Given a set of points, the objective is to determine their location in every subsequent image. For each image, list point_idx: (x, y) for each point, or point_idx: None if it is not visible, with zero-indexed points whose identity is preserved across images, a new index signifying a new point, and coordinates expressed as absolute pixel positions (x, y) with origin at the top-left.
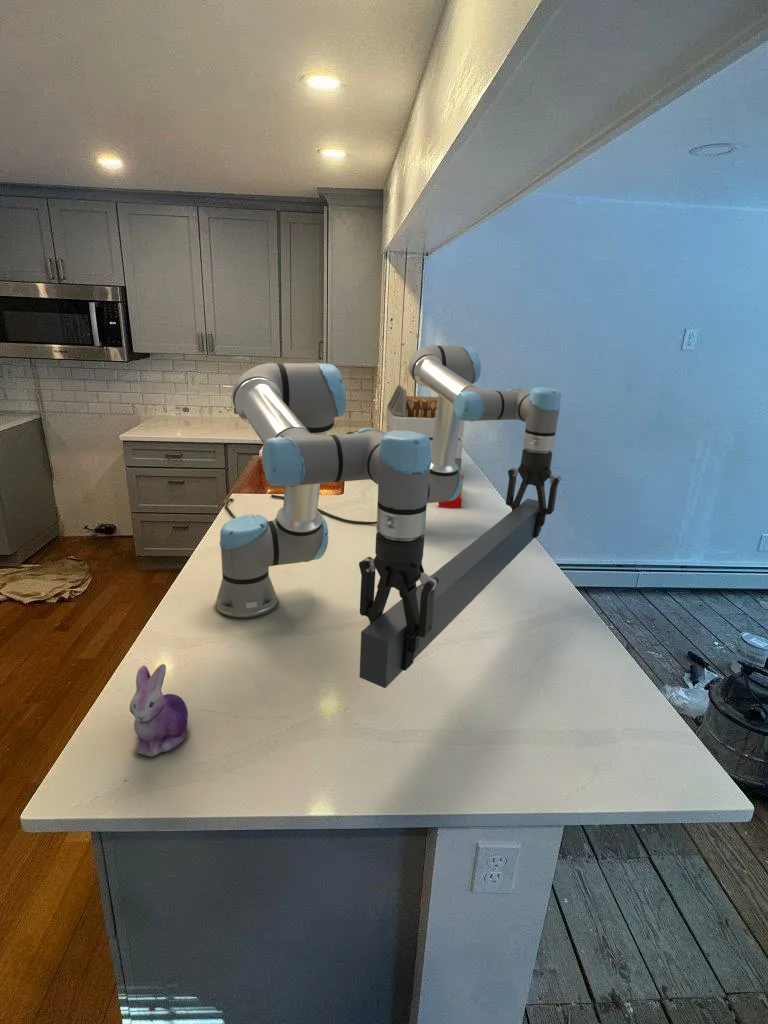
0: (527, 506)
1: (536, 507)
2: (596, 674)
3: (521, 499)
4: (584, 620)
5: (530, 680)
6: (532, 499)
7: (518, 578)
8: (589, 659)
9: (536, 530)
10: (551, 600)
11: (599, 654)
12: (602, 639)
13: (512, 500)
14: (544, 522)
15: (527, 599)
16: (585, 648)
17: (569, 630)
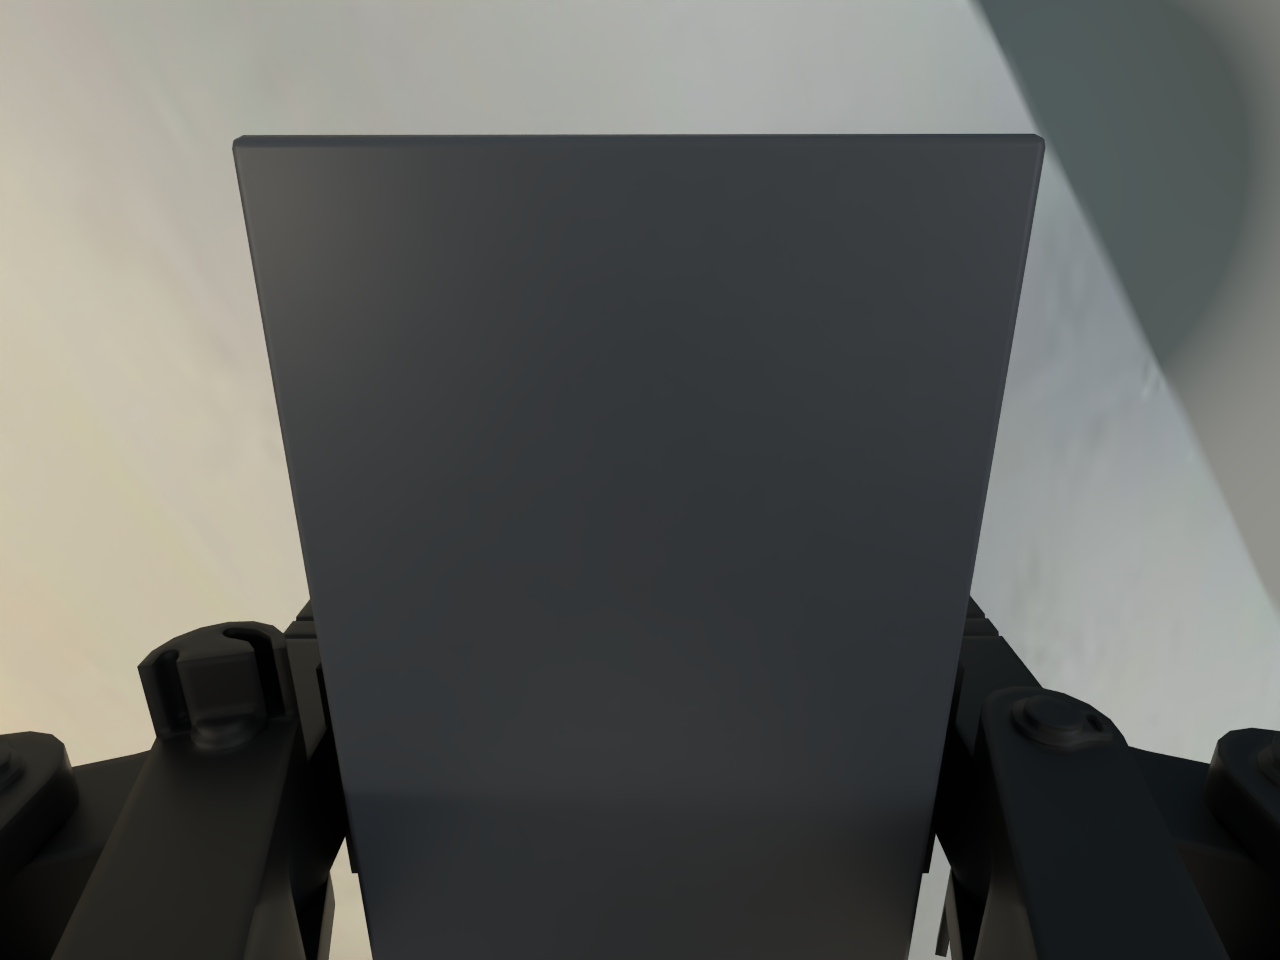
0: (601, 952)
1: (849, 887)
2: None
3: (265, 916)
4: (1098, 384)
5: (909, 956)
6: (454, 155)
7: (546, 10)
8: (1128, 730)
9: None
10: None
11: (1176, 670)
12: (1198, 533)
13: (26, 866)
14: (975, 613)
15: None
16: (1109, 658)
17: (1019, 544)
